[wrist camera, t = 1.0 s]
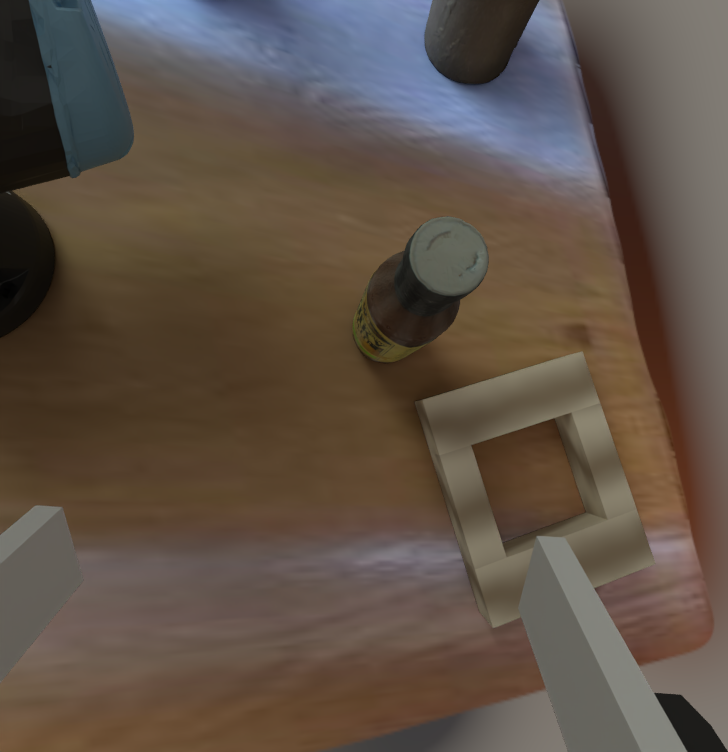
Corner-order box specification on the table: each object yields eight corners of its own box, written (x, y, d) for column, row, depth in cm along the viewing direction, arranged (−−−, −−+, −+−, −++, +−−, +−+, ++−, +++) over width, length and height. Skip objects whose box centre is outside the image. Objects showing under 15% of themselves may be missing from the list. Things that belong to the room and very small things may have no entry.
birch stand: (414, 401, 38) (422, 400, 35) (563, 356, 41) (582, 351, 38) (479, 611, 37) (493, 628, 34) (630, 553, 39) (655, 564, 36)
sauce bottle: (346, 306, 39) (374, 187, 19) (409, 299, 40) (499, 177, 20) (356, 372, 38) (395, 319, 18) (419, 363, 39) (523, 304, 19)
